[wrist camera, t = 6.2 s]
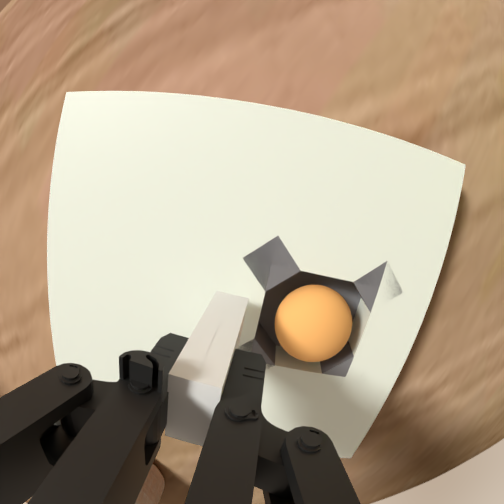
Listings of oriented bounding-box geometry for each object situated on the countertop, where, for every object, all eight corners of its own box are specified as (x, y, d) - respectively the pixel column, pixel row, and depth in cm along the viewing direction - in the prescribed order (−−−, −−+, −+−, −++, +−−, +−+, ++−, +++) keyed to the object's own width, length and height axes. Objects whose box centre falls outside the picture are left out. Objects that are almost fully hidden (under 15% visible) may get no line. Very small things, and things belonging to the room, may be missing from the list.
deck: (75, 366, 21) (59, 382, 18) (89, 99, 16) (66, 92, 14) (346, 435, 20) (350, 458, 17) (444, 165, 15) (465, 164, 13)
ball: (287, 329, 19) (252, 353, 15) (304, 268, 18) (270, 281, 14) (346, 355, 17) (322, 388, 13) (369, 292, 16) (351, 313, 12)
